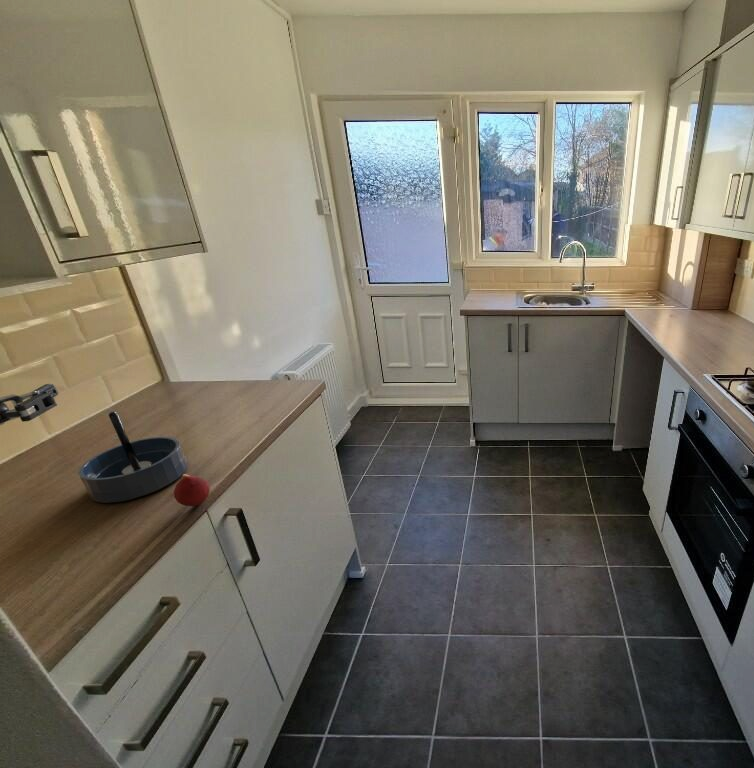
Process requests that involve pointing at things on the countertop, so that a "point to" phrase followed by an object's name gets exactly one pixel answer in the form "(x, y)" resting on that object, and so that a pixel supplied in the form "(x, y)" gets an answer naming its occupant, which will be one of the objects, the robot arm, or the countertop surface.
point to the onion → (191, 490)
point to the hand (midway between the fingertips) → (20, 392)
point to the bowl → (113, 486)
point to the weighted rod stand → (127, 446)
